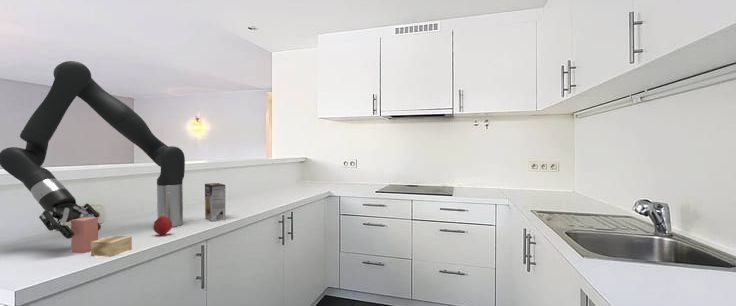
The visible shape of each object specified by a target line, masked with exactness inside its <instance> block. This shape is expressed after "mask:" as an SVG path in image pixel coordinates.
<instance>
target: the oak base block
mask: <svg viewBox="0 0 736 306" xmlns="http://www.w3.org/2000/svg"><path fill="white" fill-rule="evenodd" d="M132 242H133V241H132V236H131V235H130V236H128V235H127V236H126V235H110V236H107V237H103V238H100V239H99V238H98V240H96V241H92V242H91V251H90V255H91V256H94V255H97V256H107V257H113V256H117V255H116V254H118V255H120V254H119V253H122V252H125V251H127V250H130V251H131V250H132V248H133V246H132Z"/></svg>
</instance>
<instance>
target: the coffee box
mask: <svg viewBox="0 0 736 306" xmlns="http://www.w3.org/2000/svg"><path fill="white" fill-rule="evenodd" d="M204 209H205V210H204V211H205V213H204V214H205V219H206V220H208V221H210V222H217V221H223V220H226V184H223V183H220V182H217V183H216V182H213V183H204Z"/></svg>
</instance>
